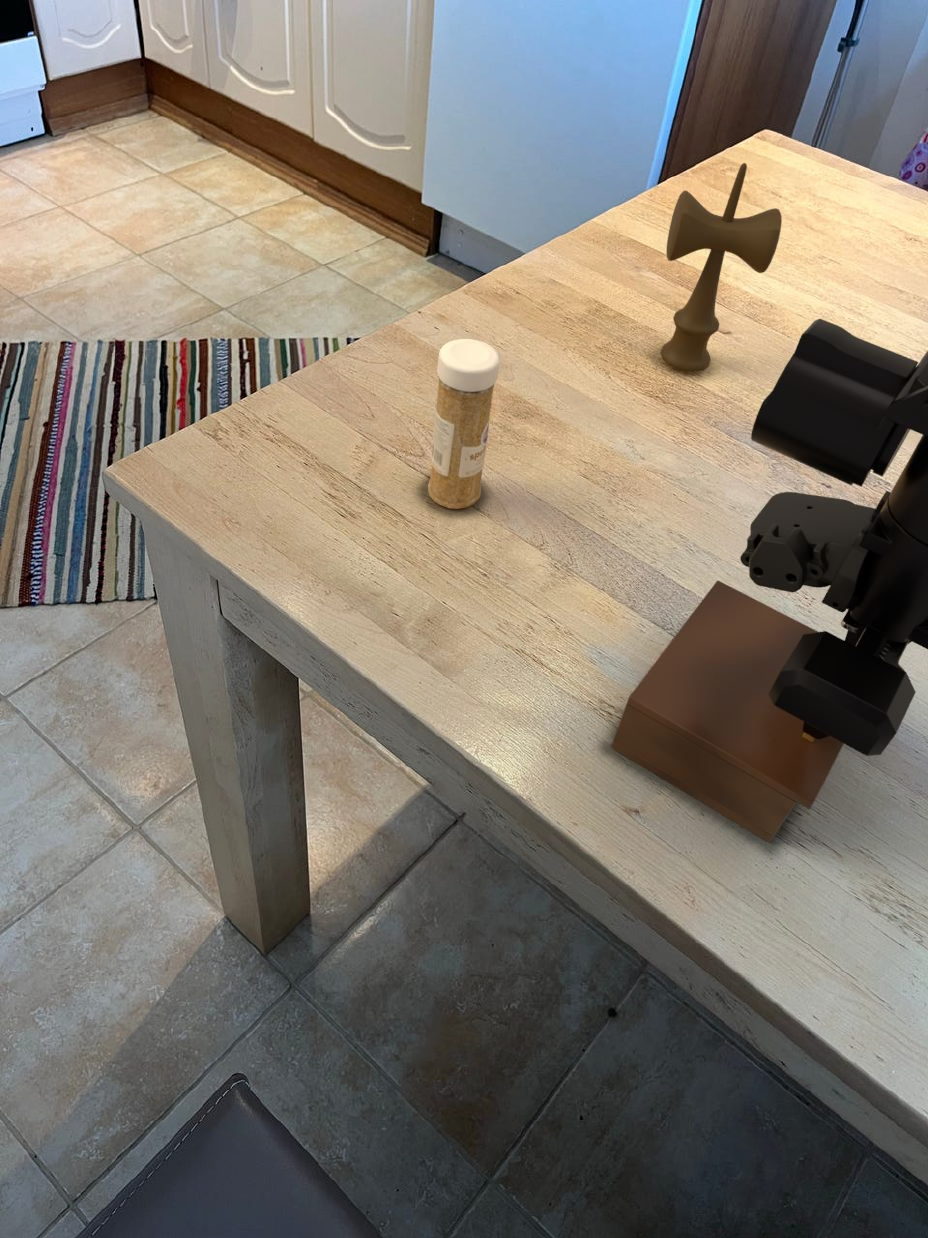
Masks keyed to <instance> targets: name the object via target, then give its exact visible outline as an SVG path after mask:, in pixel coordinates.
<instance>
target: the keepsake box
mask: <svg viewBox="0 0 928 1238" xmlns="http://www.w3.org/2000/svg"><path fill="white" fill-rule="evenodd" d="M610 748H611V749H612V750H614V751H616V752H617V753H619V754H621V755H622V756H625V758H627V759H629V760H632V762H634V763H636V764H638V766H641V767H643V768H644V769H646V770H648V771H649V772H651V773H653V774H654V775H656V776H658V777H660V778H661V779H663V780H664V781H666V782H667V783H670V784H671V785H672V786H674V787H676V788H677V789H679V790H680V791H683V792H684V793H686V794H688V795H689V796H691V797H692V798H694V799H696V800H698V801H699V802H701V803H703V804H704V805H705V806H707V807H709V808H710V809H713V810H714V811H716V812H717V813H719V814H721V815H722V816H724V817H726V818H728V819H729V820H731V821H733V822H734V823H736V824H738V826H741V827H743V828H744V829H746V830H747V831H749V832H750V833H753V834H754V835H756V836H758V837H759V838H760V839H762V840H764V841H766V842H767V843H771V841H772V840H773V838H774V836H775V835H776V834H777V833H778V831H779V829H780V828H781V826H782V825H783V823H784V822H785V820H786V819H787V818H788V816H789V815H790V813H791V812H792V810H793V808H794V807H795V805H796V804H797V802H796V801H794V800H792V799H790V798H789V797H787V796H785V795H784V794H782V793H780V792H778V791H777V790H775V789H773V788H771V787H770V786H768V785H766V784H765V783H763V782H761V781H759V780H758V779H756V778H754V777H753V776H751V775H749V774H747V773H746V772H744V771H742V770H740V769H739V768H737V767H735V766H734V765H732V764H730V763H728V762H727V761H725V760H723V759H722V758H720V757H718V756H716V755H715V754H713V753H711V752H709V751H708V750H706V749H704V748H703V747H701V746H699V745H697V744H696V743H694V742H692V741H691V740H689V739H687V738H685V737H684V736H682V735H680V734H678V733H677V732H675V731H673V730H672V729H670V728H668V727H666V726H665V725H663V724H661V723H660V722H658V721H656V720H654V719H653V718H651V717H649V716H647V715H646V714H644V713H642V712H641V711H639V710H637V709H635V708H634V707H632V706H630V705H629V704H627V703H626V704H625V707H624V709H623V712H622V714H621V718H620V720H619V723H618V726H617V728H616V731H615V734H614V737H613V739H612V742H611V744H610Z"/></svg>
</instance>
